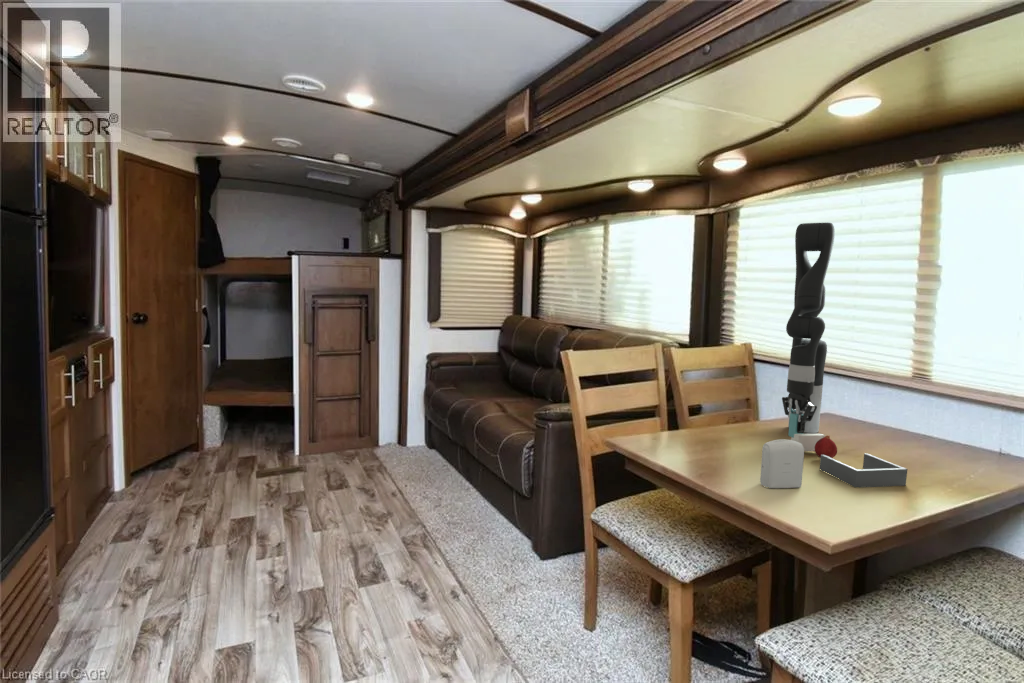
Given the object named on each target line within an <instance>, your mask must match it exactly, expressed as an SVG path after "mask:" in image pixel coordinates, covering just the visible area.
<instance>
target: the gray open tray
mask: <svg viewBox="0 0 1024 683" xmlns="http://www.w3.org/2000/svg"><path fill="white" fill-rule="evenodd" d="M819 459H820V460H819V469H821V470H822V471H825V472H827V473H829V474H831V475H833V476H835V477H837V478H839V479H840V480H839V479H838V480H839V481H841V480H842V481H841V482H843V481H844V482H843V483H845V482H846V483H845V484H847V483H848V484H847V485H849V484H850V486H851V485H852V486H851V487H853V486H854V487H853V488H855V487H859V488H878V487H879V488H880V487H883V488H884V487H902V486H904V487H905V486H906V485H907V478H908V477H907V476H908V468H906V467H903V466H901V465H898V464H895V463H893V462H891V461H888V460H885V459H883V458H881V457H877V456H875V455H873V454H870V453H867V452H866V453H865V452H864V453H863V462H862V469H861V468H860V469H858V468H856V467H853V466H850V465H848V464H847V463H844V462H842V461H840V460H837V459H835V458H834V457H833V458H830V457H828V456H826V455H821V457H819ZM863 468H864V469H863ZM822 471H821V472H822ZM829 474H828V475H829ZM831 475H830V476H831ZM833 476H832V477H833ZM835 477H834V478H835ZM837 478H836V479H837Z"/></svg>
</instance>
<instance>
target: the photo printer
mask: <svg viewBox="0 0 1024 683" xmlns="http://www.w3.org/2000/svg"><path fill="white" fill-rule="evenodd" d="M804 456H805V451H804V448H803V445H802V444H801V443H799V442H796V441H793V440H791V439H784V438H781V439H774V440H770V441H767V442H765V443H764V444H763V445H762V450H761V462H760V464H761V465H760V479H759V480H760V481H759V482H760V486H762V485H763V486H765V487H769V488H768V489H789V488H790V489H792V488H795V489H797V488H802V482H803V472H804V458H805V457H804ZM763 486H762V487H763ZM765 487H764V488H765Z"/></svg>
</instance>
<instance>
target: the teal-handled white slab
mask: <svg viewBox="0 0 1024 683" xmlns="http://www.w3.org/2000/svg"><path fill="white" fill-rule="evenodd" d="M802 417H803V414H802V415H801V418H802ZM797 422H798V415H797V414H796V413H790V422H789V421H788V424H789V427H788V435H787V436H788V437H791V438H790V440H793V441H796V442H799V443H801V444H802V445H803V448H804V452H815V444H816V442H817V441H818V440H820V439H821V438H824V437H825V436H826V435H825V434H822V433H797Z"/></svg>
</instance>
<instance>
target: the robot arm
mask: <svg viewBox="0 0 1024 683" xmlns="http://www.w3.org/2000/svg"><path fill="white" fill-rule="evenodd" d="M795 230H796V231H795V235H794V236H795V237H794V240H795V242H794V243H795V244H794V246H795V281H794V282H795V283H794V284H795V285H794V296H793V297H794V299H793V300H794V302H793V303H794V305H793V310H792V312H791V315H790V317H789V318H788V321H787V323H786V325H785V326H786V327H785V329H786V330H785V331H786V333H787V335H788V336H789V337H790V338H792V341H791V342H792V344H791V349H790V359H789V367H788V370H787V382H786V384H787V385H786V392H787V393H788V395H787V396H782V398H781V400H782V406H783V411H784V415H786V416H787V417H788V425H787V426H788V428H789V422H790V413H796V414H797V415H798V422H797V433H803V434H819V431H820V430H819V429H820V420H821V408H822V398H823V386H824V373H825V365H826V359H827V354H828V345H827V342H826V341H825V340H823V339H822V337H823V334H824V332H825V329H826V323H825V321H824V319H823V318H822V317H819V315H820V314H821V313H822V311H823V310H824V308H825V304H826V286H825V278H826V276H827V271H828V267H829V264H830V260H831V255H832V251H833V248H834V247H833V246H834V242H835V226H834V224H833V223H832V222H806V223H799V224H798V226H797V227H796V229H795ZM807 252H820V253H819V255H818V257H817V259H816V261H815V262H814V264H813V265H812V264H811V263H810V260H809V256H808V253H807ZM802 414H803V417H802V418H801V415H802Z"/></svg>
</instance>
